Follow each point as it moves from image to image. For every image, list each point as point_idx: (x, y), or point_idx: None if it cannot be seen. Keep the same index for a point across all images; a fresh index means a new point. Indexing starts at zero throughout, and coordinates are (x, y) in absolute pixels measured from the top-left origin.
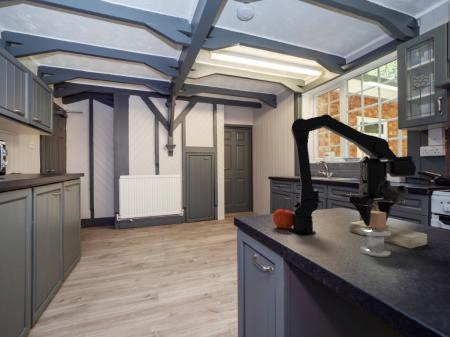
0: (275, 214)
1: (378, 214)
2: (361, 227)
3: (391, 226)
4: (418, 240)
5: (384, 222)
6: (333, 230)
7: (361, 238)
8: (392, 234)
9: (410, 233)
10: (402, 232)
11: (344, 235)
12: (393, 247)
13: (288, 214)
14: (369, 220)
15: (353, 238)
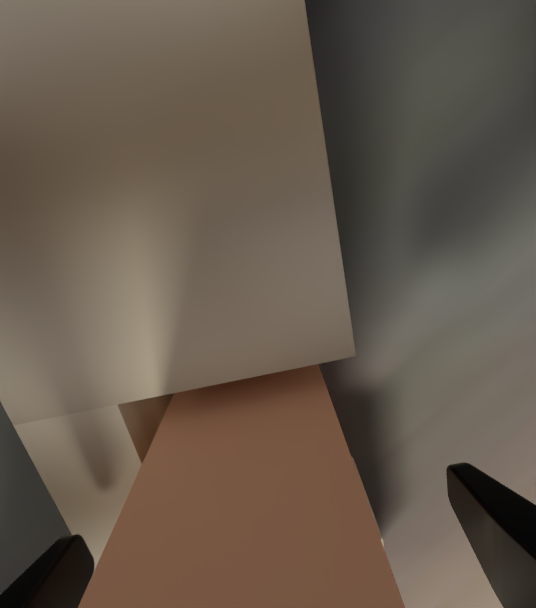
0: None
1: None
2: (377, 529)
3: (36, 459)
4: None
5: (175, 482)
6: (474, 591)
7: (457, 374)
8: (323, 153)
9: (31, 60)
10: (123, 153)
11: (516, 473)
12: (424, 31)
13: None
14: (524, 528)
15: (525, 389)
